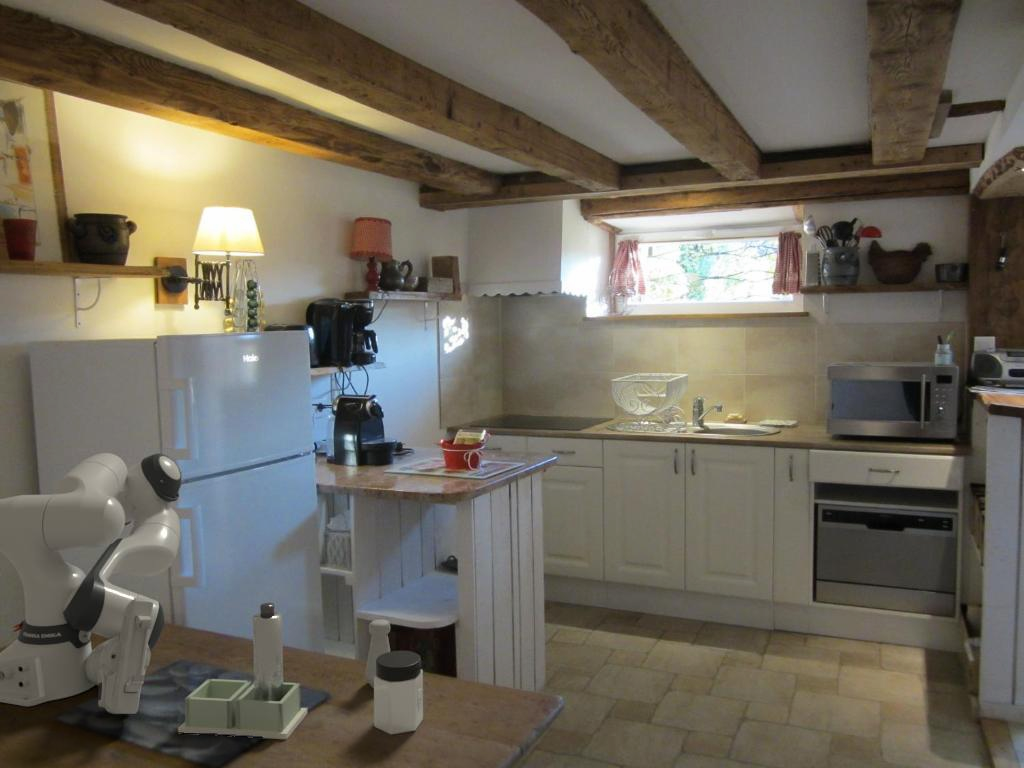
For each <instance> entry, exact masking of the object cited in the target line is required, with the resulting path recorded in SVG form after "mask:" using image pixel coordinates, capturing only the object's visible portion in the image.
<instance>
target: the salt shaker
mask: <svg viewBox="0 0 1024 768" xmlns="http://www.w3.org/2000/svg"><path fill="white" fill-rule="evenodd" d="M368 631H369V634H370V635H371V636H370V637H371V638H370V645H369V649H368V655H367V661H366V667H365V672H364V673H365V679H366V680H367V681H368V684H369V685H370V687H371V688H372V689H374V676H375V675H376V659H377V658H378V657H379V656H380V655H382V654H384V653H387V652H391V647H390V642H389V641H390V640H389V636H388V634H390V632H391V624H390V621H388V620H386V619H379V618H378V619H374V620H372V621H371V622H370V623H369V624H368Z"/></svg>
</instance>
